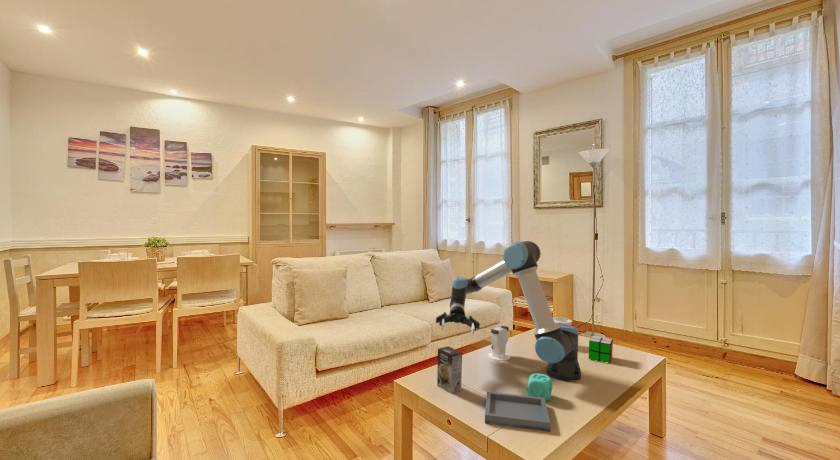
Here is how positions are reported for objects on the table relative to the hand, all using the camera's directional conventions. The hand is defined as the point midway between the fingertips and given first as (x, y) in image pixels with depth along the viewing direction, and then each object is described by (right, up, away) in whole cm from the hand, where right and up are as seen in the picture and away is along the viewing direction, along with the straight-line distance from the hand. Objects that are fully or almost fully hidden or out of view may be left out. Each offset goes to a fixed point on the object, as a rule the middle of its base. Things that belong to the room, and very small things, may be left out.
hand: (457, 329), depth 165 cm
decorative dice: (+32, -24, -13) cm, 42 cm away
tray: (+19, -24, -27) cm, 41 cm away
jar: (+63, -22, +46) cm, 81 cm away
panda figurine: (+25, -22, +29) cm, 44 cm away
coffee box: (-4, -23, -7) cm, 24 cm away
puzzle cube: (+77, -23, +28) cm, 85 cm away
